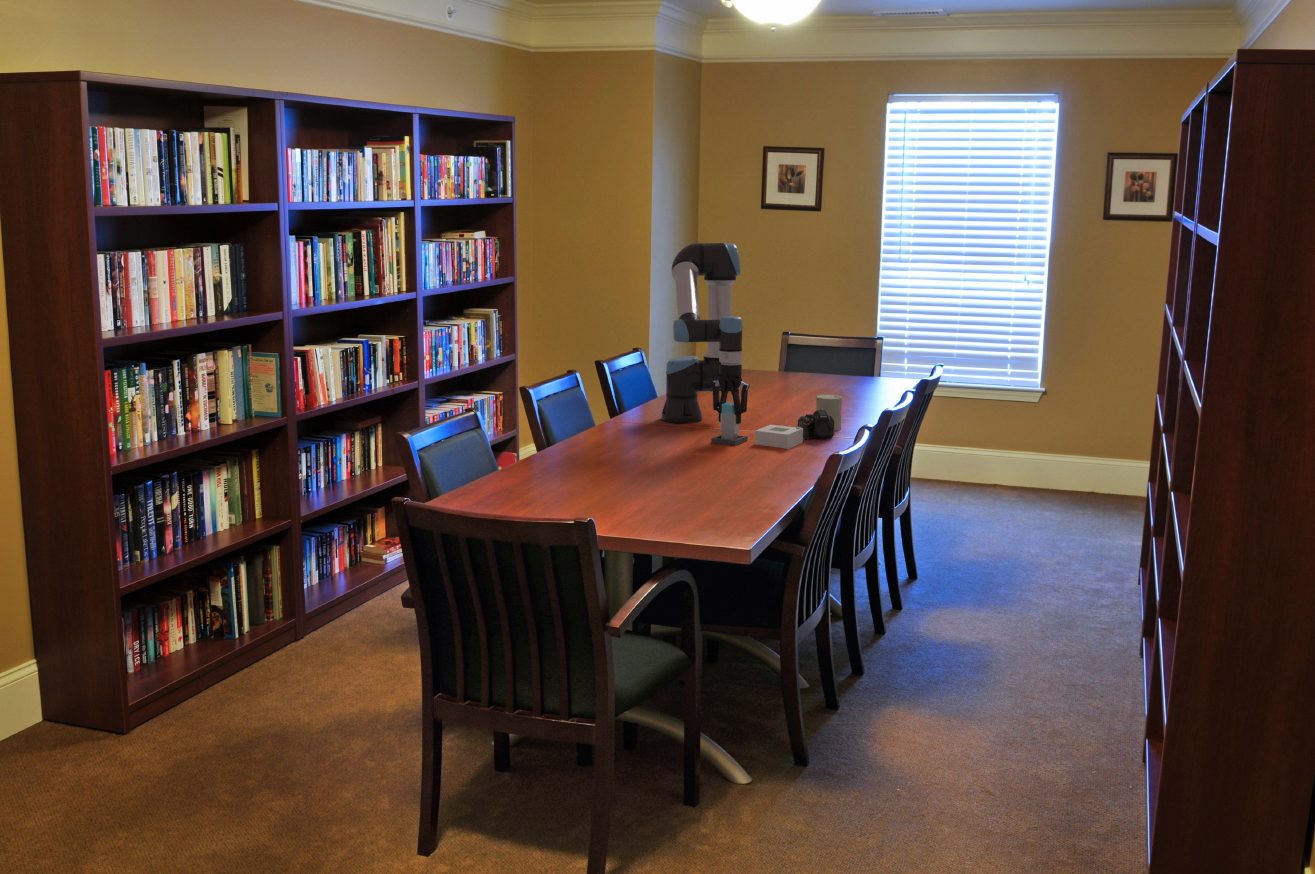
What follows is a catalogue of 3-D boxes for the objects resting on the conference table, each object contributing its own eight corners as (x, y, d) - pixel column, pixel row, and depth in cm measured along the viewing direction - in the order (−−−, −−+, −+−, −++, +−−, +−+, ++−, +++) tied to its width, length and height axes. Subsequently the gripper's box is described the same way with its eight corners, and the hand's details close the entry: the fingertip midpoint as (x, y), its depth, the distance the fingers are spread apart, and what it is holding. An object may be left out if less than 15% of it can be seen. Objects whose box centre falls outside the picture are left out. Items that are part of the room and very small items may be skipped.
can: (840, 431, 390) (841, 398, 387) (814, 430, 391) (815, 397, 389) (841, 426, 399) (842, 393, 396) (816, 425, 400) (817, 392, 398)
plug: (721, 442, 370) (721, 404, 368) (726, 440, 374) (727, 402, 371) (732, 443, 368) (732, 405, 366) (737, 441, 372) (738, 403, 369)
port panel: (754, 445, 367) (755, 429, 366) (770, 438, 377) (770, 423, 376) (787, 449, 361) (788, 433, 360) (802, 442, 371) (803, 427, 370)
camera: (809, 442, 372) (810, 413, 370) (793, 437, 381) (793, 408, 379) (841, 438, 378) (842, 410, 376) (825, 433, 387) (825, 405, 385)
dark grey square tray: (711, 443, 370) (711, 438, 369) (723, 439, 377) (723, 433, 377) (735, 447, 365) (735, 441, 365) (747, 442, 373) (747, 436, 372)
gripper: (702, 362, 367) (701, 431, 372) (748, 366, 358) (747, 437, 363) (713, 360, 373) (712, 427, 378) (758, 363, 364) (757, 433, 369)
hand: (729, 432), depth 370 cm, fingers closed on plug, 4 cm apart
